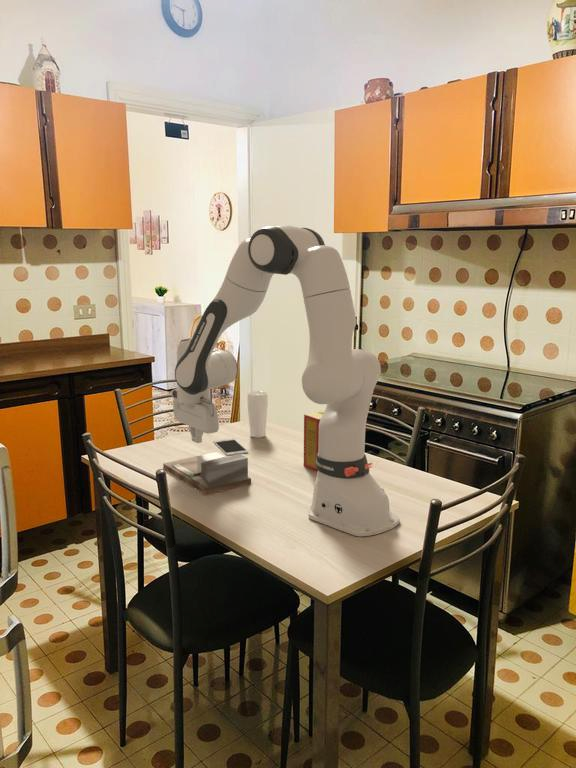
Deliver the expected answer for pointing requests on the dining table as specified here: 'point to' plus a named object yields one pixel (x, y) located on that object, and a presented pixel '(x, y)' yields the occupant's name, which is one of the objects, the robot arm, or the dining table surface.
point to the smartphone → (230, 446)
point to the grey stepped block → (212, 473)
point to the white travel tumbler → (257, 413)
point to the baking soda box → (311, 438)
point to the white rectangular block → (206, 458)
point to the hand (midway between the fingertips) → (196, 441)
